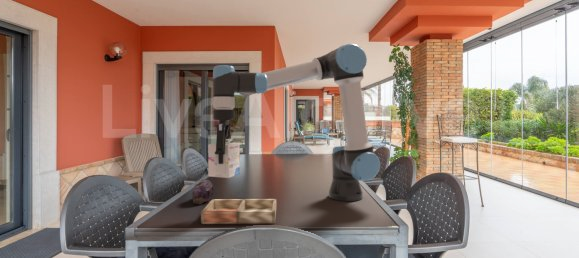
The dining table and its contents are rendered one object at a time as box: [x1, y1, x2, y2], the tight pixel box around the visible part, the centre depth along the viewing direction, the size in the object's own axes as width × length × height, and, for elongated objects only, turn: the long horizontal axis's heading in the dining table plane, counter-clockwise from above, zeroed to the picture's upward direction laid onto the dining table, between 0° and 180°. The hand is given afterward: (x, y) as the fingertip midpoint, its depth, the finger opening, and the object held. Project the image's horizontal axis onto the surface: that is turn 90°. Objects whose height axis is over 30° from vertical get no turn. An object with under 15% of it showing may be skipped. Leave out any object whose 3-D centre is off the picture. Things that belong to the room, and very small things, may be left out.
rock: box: [191, 179, 215, 205], centre depth 139 cm, size 12×9×10 cm
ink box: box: [207, 137, 241, 179], centre depth 118 cm, size 9×8×13 cm
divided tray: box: [200, 198, 277, 225], centre depth 118 cm, size 25×17×4 cm
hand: (224, 170), depth 118 cm, fingers closed on ink box, 10 cm apart
